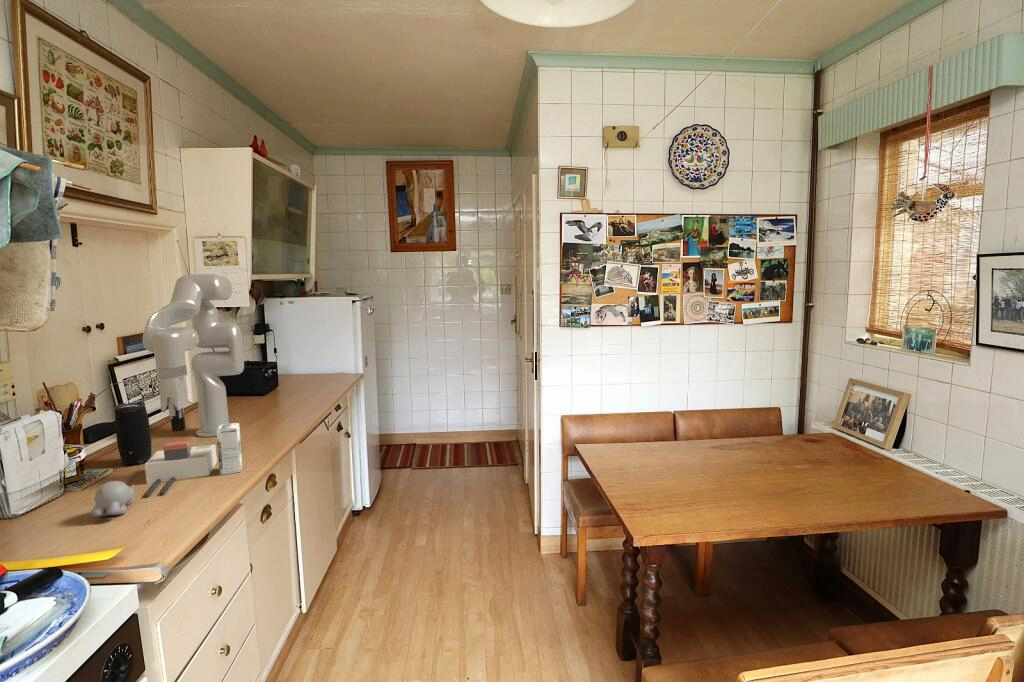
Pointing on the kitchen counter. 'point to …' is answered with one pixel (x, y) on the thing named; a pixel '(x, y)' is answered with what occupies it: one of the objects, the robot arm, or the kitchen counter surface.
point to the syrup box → (229, 448)
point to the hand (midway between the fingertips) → (179, 430)
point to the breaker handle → (177, 450)
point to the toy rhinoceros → (112, 499)
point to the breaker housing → (181, 465)
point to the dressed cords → (157, 485)
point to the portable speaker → (133, 433)
